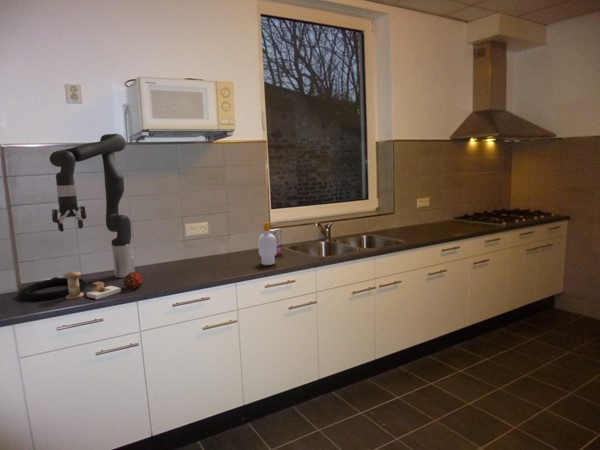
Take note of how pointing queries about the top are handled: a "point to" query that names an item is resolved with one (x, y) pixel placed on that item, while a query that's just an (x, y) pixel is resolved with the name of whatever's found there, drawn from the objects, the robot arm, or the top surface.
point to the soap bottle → (267, 246)
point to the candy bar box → (277, 240)
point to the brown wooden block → (98, 287)
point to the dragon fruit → (133, 280)
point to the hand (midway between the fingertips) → (71, 229)
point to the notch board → (108, 291)
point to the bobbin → (73, 285)
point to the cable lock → (55, 281)
